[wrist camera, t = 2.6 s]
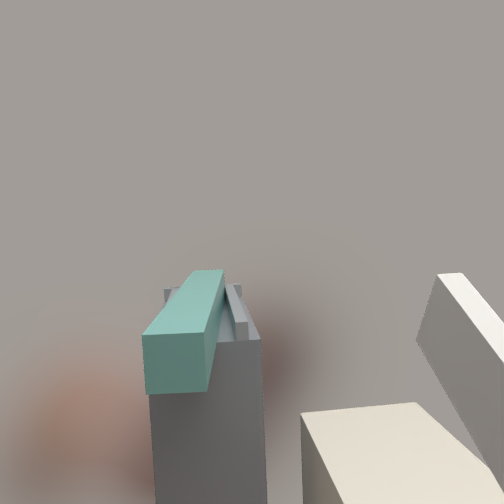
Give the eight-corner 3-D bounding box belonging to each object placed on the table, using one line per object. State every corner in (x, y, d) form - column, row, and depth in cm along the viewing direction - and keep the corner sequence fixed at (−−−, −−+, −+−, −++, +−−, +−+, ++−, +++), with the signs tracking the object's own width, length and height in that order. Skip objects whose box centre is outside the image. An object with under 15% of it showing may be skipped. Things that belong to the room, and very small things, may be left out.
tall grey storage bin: (169, 693, 36) (144, 328, 33) (180, 534, 54) (164, 287, 51) (274, 676, 37) (260, 320, 34) (251, 525, 55) (240, 283, 52)
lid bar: (146, 394, 25) (141, 335, 24) (195, 300, 50) (193, 270, 50) (206, 391, 25) (203, 332, 24) (225, 299, 50) (223, 269, 50)
